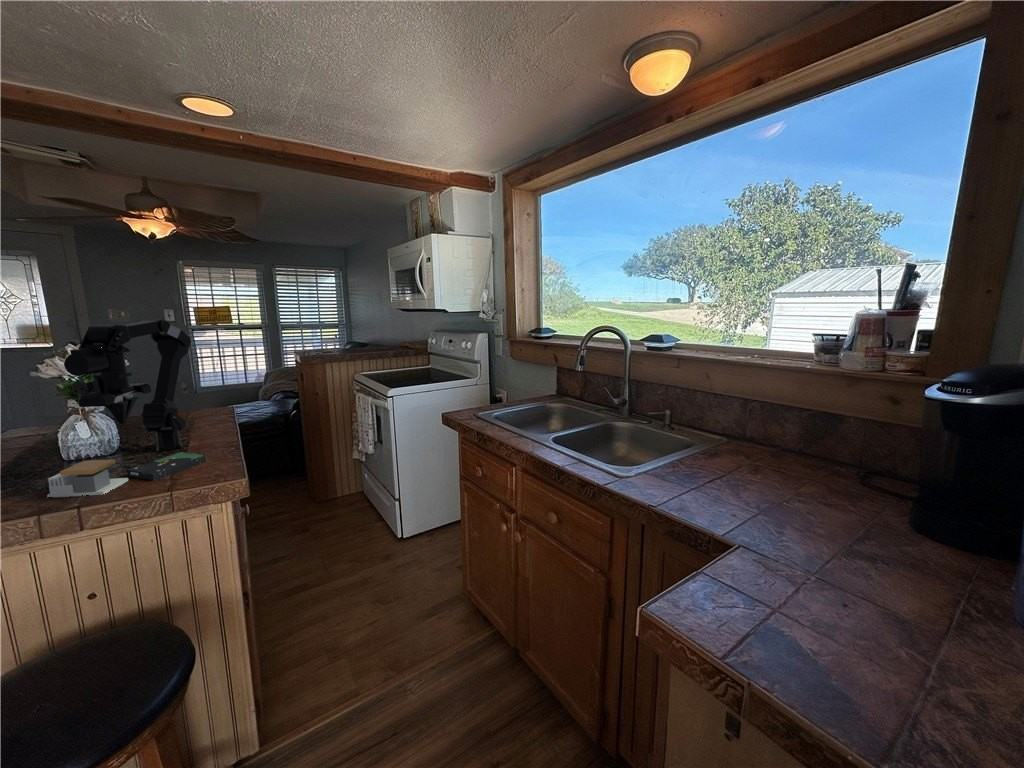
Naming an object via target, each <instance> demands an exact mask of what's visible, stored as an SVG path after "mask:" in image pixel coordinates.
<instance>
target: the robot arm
mask: <svg viewBox="0 0 1024 768" xmlns="http://www.w3.org/2000/svg"><path fill="white" fill-rule="evenodd" d="M147 335H150V338H151V340H152V341H153V342H155V343H156V349H157V351H158V353H159V355H160V357H161V358H160V361H159V362H160V363H159V369H158V374H157V379H156V384H155V388H154V389H155V390H154V395H153V399H152V400H151V402H149V403H147V402H146V403H144V404H143V408H142V413H141V415H140V416H141V421H142V423H143V426H144V427H145V429H146V431H147V432H149V433H150V432H152V433H153V432H155V437H156V442H157V445H156V453H159V452H165V451H170V450H171V449H172V450H177V449H183V442H182V441H181V438H180V432H179V431H183V430H184V429H185V428H186V420H185V419H183V418H182V417H181V416H179V413H178V412H179V409H178V407H177V405H176V404H175V402H174V400H175V392H176V388H177V383H178V382H177V381H178V376H179V371H180V365H181V360H182V359H183V358H184V357H185V356H186V355H187V354H188V352H189V349H190V347H191V346H190V345H191V343H192V341H191V337H190V336H189V335H188V334H187V333H186V332H184V331H183V330H182V329H181V328H178V327H177V326H174V325H172V324H171V323H169V321H167V320H165V319H156V318H155V319H153V318H152V319H150V318H149V319H147V320H143V321H137V322H132V323H127V324H92V325H89V326H88V327H87V330H86V332H85V334H84V335H83V338H82V340H81V342H80V344H79V346H78V349H76V348H75V349H70V351H69V352H70V355H68V356H66V358H65V359H64V362H63V366H64V369H65V370H66V371H67V373H68V374H70V375H72V376H75V377H82V376H87V375H94V377H93V381H89V382H85V381H84V380H80V381H76V382H73V383H71V390H72V392H73V394H75V395H80V397H79V398H78V399H77V404H78V407H79V408H94V407H95V408H96V407H98V408H99V407H105V408H107V409H108V411H109V412H110V413H111V414H112V416H113V417H114V418H115V420H116V421H117V423H118V424H119V425H124V424H126V422H127V421H128V418H129V416H130V413H131V411H132V409H133V407H134V405H135V404H136V401H137V400H138V399H139V397H138V396H133V394H136V393H142V394H145V395H146V394H149V393H152V387H151V385H150V384H148V383H146V382H142V383H137V382H136V383H130V380H129V377H131V376H132V372H131V371H128V369H127V364H126V358H125V353H130V351H131V350H130V349H129V348H128V347H126V346H124V345H126V344H128V343H129V342H130V341H131V340H132V339H134V338H138V337H144V336H147ZM101 347H102V348H101Z"/></svg>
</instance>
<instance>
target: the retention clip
mask: <svg viewBox="0 0 1024 768" xmlns="http://www.w3.org/2000/svg"><path fill="white" fill-rule="evenodd" d="M116 462H117V461H116V458H114V459H112V458H111V459H96V460H83V461H80V462H78V463H76V464H74V465H72V466H69V467H67V468H65V469H62V470H60V471H59V474H61V475H78V477H80V476H93V475H95V474H97V473H99V472H101V471H102V470H104V469H106V468H108V467H110V466H112V465H115V464H117V463H116Z"/></svg>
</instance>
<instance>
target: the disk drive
mask: <svg viewBox="0 0 1024 768" xmlns="http://www.w3.org/2000/svg"><path fill="white" fill-rule="evenodd" d="M206 461H207V456H206V454H202V453H201V454H200V453H196V452H195V453H194V452H192V453H189V452H184V451H180V452H176V453H173V454H170V455H167V456H164V457H160V458H158V459H154V460H152V461H148V462H145V463H143V464H139V465H136V466H133V467H130V468H128V469H126V473H127V478H132V477H135V478H134V479H138V478H141V479H140V480H144V479H148V480H147V481H151V480H154V481H153V482H156V481H155V480H157V481H158V479H159V480H161V479H160V478H162V479H164V478H163V477H165V478H167V477H169V476H168V475H170V476H172V475H175V474H178V473H180V472H182V470H183V471H186V470H188V469H190V467H191V468H193V467H192V466H194V467H196V466H199V465H201V464H200V463H202V464H204V463H207V462H206ZM203 462H204V463H203ZM198 464H199V465H198ZM195 465H196V466H195ZM185 469H186V470H185ZM179 471H180V472H179ZM177 472H178V473H177ZM174 473H175V474H174ZM171 474H172V475H171ZM166 476H167V477H166Z"/></svg>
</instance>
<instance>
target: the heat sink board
mask: <svg viewBox="0 0 1024 768" xmlns="http://www.w3.org/2000/svg"><path fill="white" fill-rule="evenodd" d="M128 481H129V477H120V478H119V477H118V478H110V475H109V470H108V469H106V468H105V469H102V471H101V472H99V473H97V474H95V475H93V476H80V477H78V475H61V474H60V473H57V474H55V475H52V476H51V477H48V478H47V482H48V488H49V493H48V494H47V495H46V496H47V498H48V497H53V498H66V497H69V498H70V496H71V497H85V496H86V495H89V496H102V495H103V494H104V495H105V493H106V494H107V493H109V492H110V490H111V491H113V490H115V489H117V488H118V487H120V486H122V485H123V484H125V483H127V482H128ZM112 489H113V490H112ZM82 495H83V496H82ZM104 495H103V496H104Z"/></svg>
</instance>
